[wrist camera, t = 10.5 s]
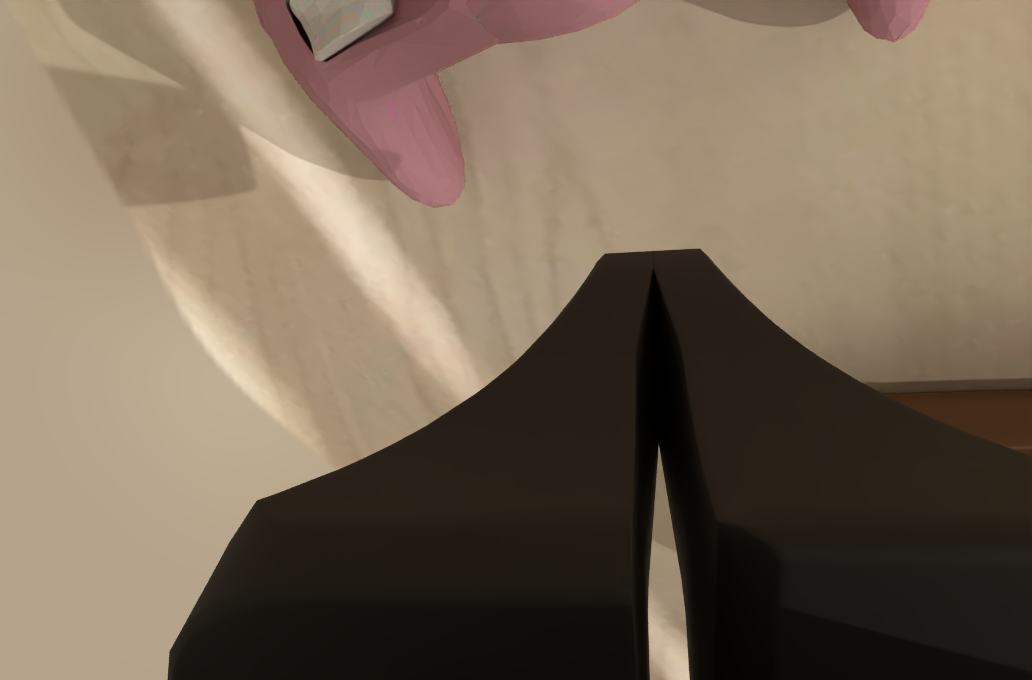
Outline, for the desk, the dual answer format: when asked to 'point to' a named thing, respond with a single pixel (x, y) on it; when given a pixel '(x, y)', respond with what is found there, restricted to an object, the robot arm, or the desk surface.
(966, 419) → the brown button base
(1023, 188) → the desk surface
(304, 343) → the desk surface
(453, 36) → the video game controller
